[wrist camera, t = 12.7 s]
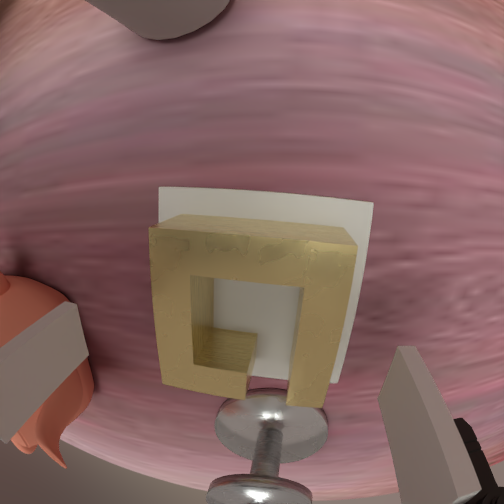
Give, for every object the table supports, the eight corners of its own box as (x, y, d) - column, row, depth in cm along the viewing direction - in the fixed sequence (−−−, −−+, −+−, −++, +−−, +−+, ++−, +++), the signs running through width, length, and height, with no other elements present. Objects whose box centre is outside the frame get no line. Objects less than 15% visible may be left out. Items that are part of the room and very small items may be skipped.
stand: (216, 380, 20) (138, 563, 6) (338, 393, 19) (347, 590, 5) (218, 447, 22) (171, 582, 8) (315, 458, 21) (305, 600, 7)
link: (181, 213, 16) (148, 227, 13) (343, 227, 15) (358, 246, 11) (185, 347, 19) (162, 383, 15) (319, 365, 18) (322, 407, 14)
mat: (163, 186, 17) (158, 186, 16) (371, 201, 15) (373, 203, 15) (170, 355, 20) (167, 360, 19) (336, 377, 18) (337, 383, 18)
